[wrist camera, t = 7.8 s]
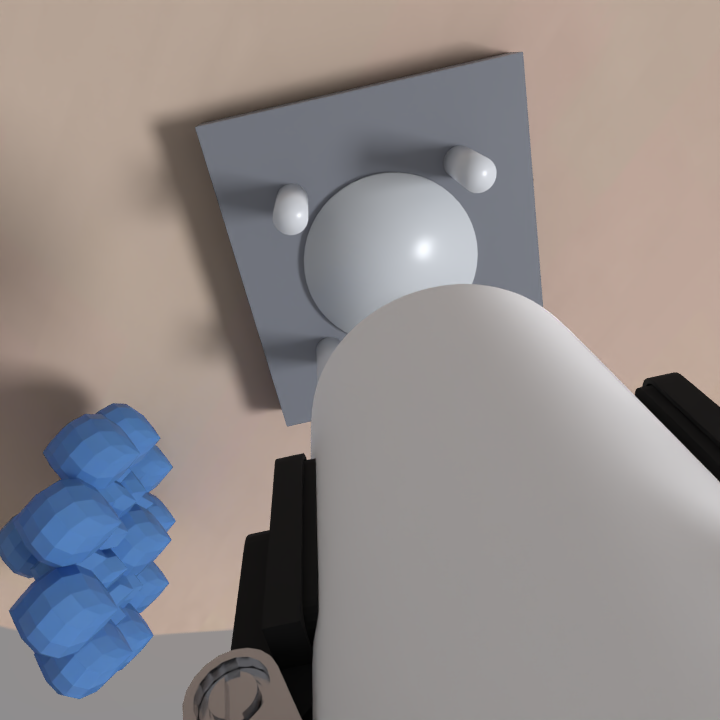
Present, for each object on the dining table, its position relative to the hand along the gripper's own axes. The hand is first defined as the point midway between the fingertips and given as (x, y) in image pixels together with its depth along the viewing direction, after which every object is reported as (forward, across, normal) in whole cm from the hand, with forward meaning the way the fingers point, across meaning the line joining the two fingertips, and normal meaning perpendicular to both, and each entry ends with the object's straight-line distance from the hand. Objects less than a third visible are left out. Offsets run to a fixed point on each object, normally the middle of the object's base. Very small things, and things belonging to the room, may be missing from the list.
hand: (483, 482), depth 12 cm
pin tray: (+16, 0, 0) cm, 16 cm away
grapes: (+16, +14, +7) cm, 23 cm away
